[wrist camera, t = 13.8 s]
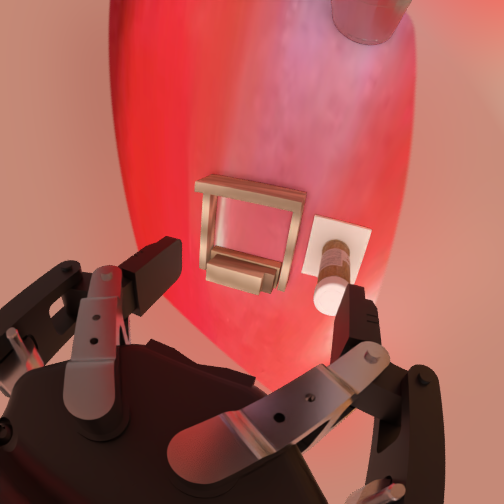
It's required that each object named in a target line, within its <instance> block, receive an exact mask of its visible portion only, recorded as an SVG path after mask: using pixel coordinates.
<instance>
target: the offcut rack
mask: <svg viewBox="0 0 504 504" xmlns="http://www.w3.org/2000/svg"><path fill="white" fill-rule="evenodd" d="M195 192H200V193H203V203H202V220H201V238H200V262H199V268H201V269H204V270H206V280H207V281H211V282H214V283H217V284H221V285H224V286H228V287H231V288H234V289H238V290H241V291H245V292H248V293H252V294H256V295H259V294H260V291H262V292H266V293H269V294H271V292H272V290H273V288H276V286H277V284H278V281H279V284H278V288H277V290H280V291H283V292H284V291H285V288H286V285H287V283H288V278H289V274H290V270H291V265H292V261H293V256H294V252H295V247H296V243H297V238H298V233H299V228H300V224H301V219H302V214H303V209H304V204H305V199H306V194H307V193H306V192H302V191H298V190H293V189H288V188H284V187H279V186H274V185H269V184H264V183H259V182H254V181H249V180H243V179H238V178H232V177H226V176H221V175H214V174H212V175H209V176H207V177H205V178H202V179H200V180H197V181H195ZM217 196H221V197H226V198H231V199H236V200H241V201H246V202H251V203H255V204H260V205H265V206H269V207H274V208H278V209H283V210H287V211H291V212H293V215H292V220H291V225H290V230H289V235H288V240H287V245H286V250H285V255H284V260H283V265H282V262H278V261H274V260H270V259H266V258H262V257H258V256H254V255H250V254H246V253H243V252H239V251H235V250H231V249H227V248H223V247H219V246H215V247H214V248H213V246H214V232H215V219H216V207H217ZM281 266H282V270H281ZM280 271H281V274H280ZM279 276H280V279H279Z"/></svg>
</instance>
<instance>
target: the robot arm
mask: <svg viewBox="0 0 504 504" xmlns="http://www.w3.org/2000/svg"><path fill="white" fill-rule="evenodd" d="M411 1H412V0H331V5H332V16H333V21H334V23H335V26H336V27H337V28H338V30H339V31H340V32H341V33H342V34H343V35H344V36H346V37H347V38H349V39H351V40H353V41H355V42H358V43H361V44H367V45H375V44H380V43H383V42H385V41H386V40H388V39H389V38H390V37H391V35H392V34H393V32H394V30H395V29H396V27H397V26H398V24H399V22H400V20H401V19H402V17H403V15H404V13H405V12H406V10H407V8H408V6H409V4H410V3H411ZM181 271H182V242H181V240H180V239H176V238H172V237H169V236H165V237H164V238H162V239H161V240H160V241H158V242H157V243H153V244H151V245H148V246H145V247H144V248H143V249H141V250H140V251H139V252H137V253H136V254H134V256H131V257H130V258H129V259H127V260H126V261H124V262H123V263H122V264H120V265H119V266H118V267H117V266H112V265H107V266H102V267H99V268H97V269H96V270H95V271H94V272H93V273H86V272H82V271H81V266H80V263H79V262H77V261H73V260H69V261H64V262H62V263H60V264H58V265H57V266H55V267H54V268H52V269H51V270H50V271H48V272H47V273H46V274H44V275H43V276H42V277H40V278H39V279H37V281H35V282H34V283H32V284H31V285H30V286H29V287H27V288H26V289H24V290H23V291H22V292H21V293H19V294H18V295H17V296H16V297H14V298H13V299H12V300H11V301H9V302H8V303H7V304H6V305H5V306H4V307H2V308H1V309H0V390H1V391H2V393H3V394H4V395H5V396H7V397H10V399H9V402H8V405H7V407H6V409H5V411H4V413H3V415H2V417H1V418H0V504H328V502H327V500H326V498H325V497H324V495H323V493H322V491H321V489H320V487H319V486H318V484H317V482H316V480H315V479H314V476H313V475H312V473H311V471H310V469H309V467H308V465H307V463H306V461H305V460H304V458H303V456H302V454H304V453H305V452H306V451H308V450H309V449H310V448H312V447H313V446H314V445H315V444H317V443H318V442H319V441H320V440H321V439H322V438H323V437H324V436H325V435H326V434H328V433H329V432H330V431H331V430H332V429H334V428H335V427H336V426H337V425H338V424H340V423H341V422H342V421H343V420H344V419H345V418H346V417H348V416H349V415H350V414H351V413H352V412H353V411H354V410H355V409H359V410H362V411H363V412H365V413H368V414H370V415H372V416H374V417H375V418H374V428H373V437H372V445H371V453H370V459H369V465H368V471H367V477H366V483H365V486H363V487H362V488H360V489H358V490H356V491H354V492H353V493H352V494H350V496H349V497H348V498H347V500H346V502H345V504H443V503H444V490H445V489H444V488H445V436H444V422H443V411H442V402H441V393H440V386H439V380H438V377H437V375H436V374H435V372H434V371H433V370H432V369H430V368H429V367H427V366H424V365H414V366H412V367H411V368H410V369H409V371H407V370H405V369H402V368H400V367H398V366H396V365H394V364H392V363H391V362H390V356H389V353H388V352H387V350H386V349H385V348H384V347H383V346H382V345H381V336H380V327H379V319H378V311H377V308H376V306H375V304H374V303H373V301H372V300H368V299H365V291H364V287H361V286H357V285H353V284H349V283H348V284H347V286H346V289H345V292H344V294H343V297H342V300H341V303H340V305H339V308H338V311H337V314H336V317H335V322H334V331H333V342H332V351H331V360H330V365H329V366H328V367H326V366H325V365H324V364H319V365H317V366H316V367H314V368H313V369H311V370H309V371H308V372H306V373H305V374H303V375H301V376H300V377H298V378H296V379H295V380H293V381H291V382H290V383H288V384H286V385H285V386H283V387H281V388H280V389H278V390H276V391H274V392H273V393H271V394H269V395H267V394H266V393H265V392H263V391H262V390H260V389H259V388H258V387H256V386H254V382H255V378H256V377H254V376H250V375H247V374H244V373H241V372H238V371H234V370H231V369H228V368H221V367H214V366H207V365H200V364H197V363H195V362H193V361H192V360H190V359H189V358H187V357H186V356H184V355H183V354H181V353H180V352H179V351H177V350H175V349H174V348H172V347H169V346H167V345H165V344H162V343H160V342H157V341H155V340H153V339H150V341H149V342H148V343H147V344H146V345H139V344H131V342H130V341H131V340H130V319H129V315H130V314H131V313H134V314H136V315H138V316H140V317H141V316H142V315H143V314H144V313H145V312H146V311H147V310H148V309H149V308H150V307H151V306H152V305H153V304H154V303H155V302H156V301H157V300H158V299H159V298H160V297H161V296H162V295H163V294H164V293H165V292H166V291H167V290H168V289H169V288H170V286H171V285H172V284H173V283H174V282H175V281H176V280H177V279H178V278H179V276H180V274H181ZM60 297H62V300H63V303H64V307H63V308H61V309H60V310H59V311H58V312H57V313H56V314H55V315H54V316H53V317H52V318H50V315H49V309H50V306H51V305H52V304H53V303H54V302H55V301H56V300H57V299H58V298H60ZM73 335H74V340H73V347H72V354H71V359H70V360H67V361H63V362H59V363H55V364H51V365H48V366H45V365H46V363H47V362H48V361H49V360H50V359H51V358H52V357H53V356H54V355H55V354H56V353H57V352H58V351H59V349H60V348H61V347H62V346H63V345H64V344H65V343H66V342H67V341H68V340H69V339H70V338H71V337H72V336H73Z"/></svg>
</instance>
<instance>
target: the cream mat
mask: <svg viewBox="0 0 504 504" xmlns="http://www.w3.org/2000/svg"><path fill="white" fill-rule="evenodd" d="M371 232H372V229H371V228H367V227H364V226H360V225H356V224H352V223H348V222H345V221H341V220H337V219H333V218H329V217H325V216H321V215H317V214H315V217H314V221H313V226H312V230H311V235H310V239H309V243H308V247H307V252H306V256H305V260H304V264H303V268H302V272H301V273H304V274H308V275H312V276H316V277H318V273H319V267H320V262H321V257H322V249H323V246H324V245H325V244H326V243H327V242H329V241H331V240H340V241H342V242H344V243H345V244H346V245H347V246H348V248H349V250H350V257H349V258H350V274H351V276H350V284H353V285H354V283H355V280H356V277H357V274H358V271H359V268H360V266H361V263H362V260H363V257H364V254H365V251H366V248H367V244H368V241H369V238H370V235H371Z"/></svg>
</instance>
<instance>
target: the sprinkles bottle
mask: <svg viewBox="0 0 504 504" xmlns="http://www.w3.org/2000/svg"><path fill="white" fill-rule="evenodd" d="M349 257H350V250H349V248H348V246H347V245H346V244H345V243H344V242H342V241H340V240H331V241H329V242H327V243H326V244H325V245H324V246H323V249H322V257H321V262H320V267H319V273H318V282H317V285H316V287H315V291H314V304H315V306H316V308H317V309H318V310H319V311H320V312H321V313H323V314H326V315H329V316H336V314H337V311H338V308H339V305H340V303H341V300H342V297H343V294H344V292H345V289H346V286H347V284H348V283H349V284H350V276H351V274H350V258H349Z"/></svg>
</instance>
